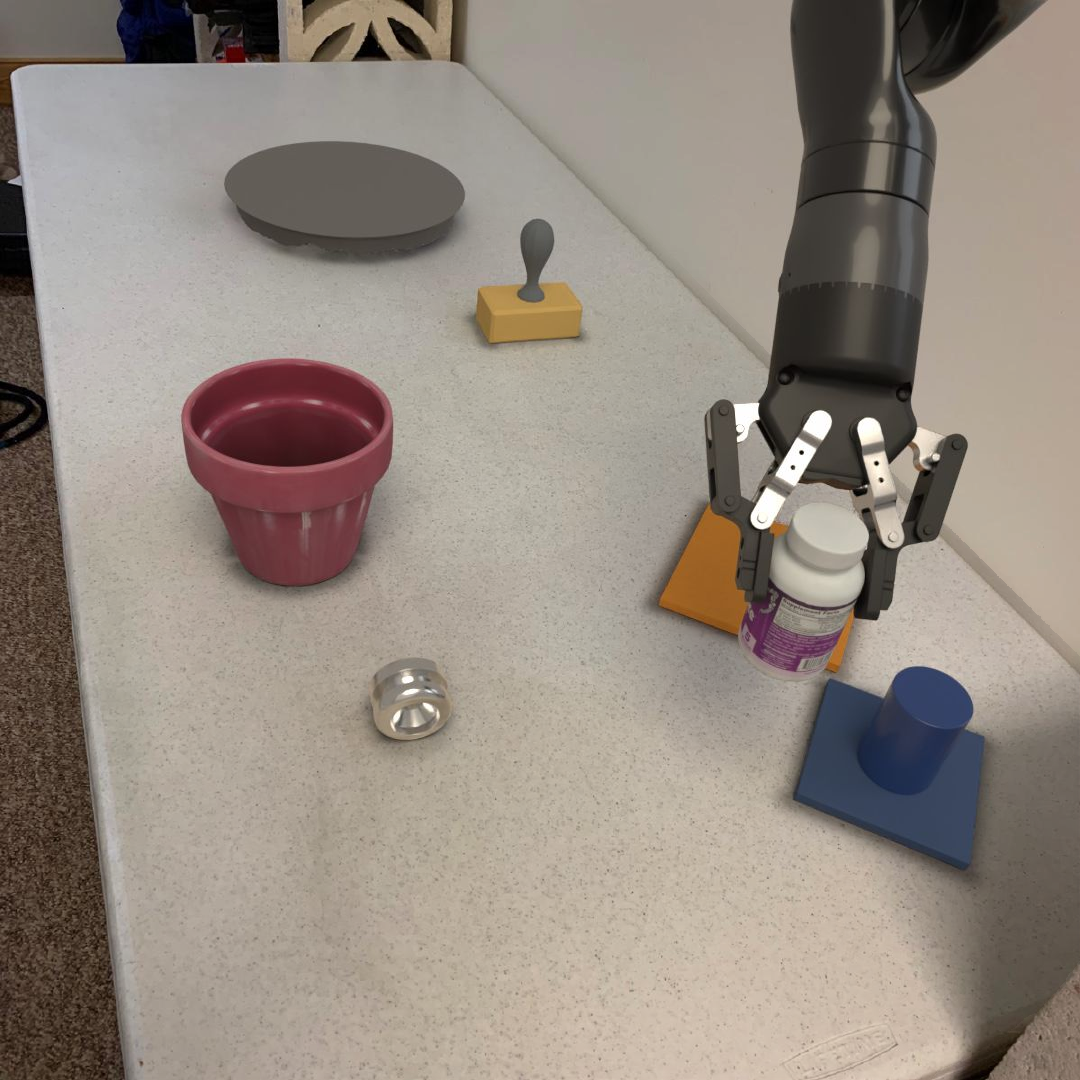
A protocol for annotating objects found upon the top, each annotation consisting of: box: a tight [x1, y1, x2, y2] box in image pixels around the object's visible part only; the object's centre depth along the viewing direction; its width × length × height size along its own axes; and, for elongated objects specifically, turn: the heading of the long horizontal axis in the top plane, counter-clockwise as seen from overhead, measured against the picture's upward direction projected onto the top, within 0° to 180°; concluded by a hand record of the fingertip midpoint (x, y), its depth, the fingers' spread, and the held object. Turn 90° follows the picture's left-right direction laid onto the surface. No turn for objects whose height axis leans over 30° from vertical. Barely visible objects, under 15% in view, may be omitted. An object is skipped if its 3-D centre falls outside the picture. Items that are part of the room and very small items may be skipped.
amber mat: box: [658, 501, 855, 673], centre depth 79 cm, size 14×14×1 cm
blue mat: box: [793, 677, 985, 871], centre depth 66 cm, size 11×11×1 cm
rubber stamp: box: [475, 218, 584, 344], centre depth 102 cm, size 10×6×12 cm, turn 108°
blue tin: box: [858, 665, 974, 795], centre depth 64 cm, size 5×5×7 cm
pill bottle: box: [737, 501, 869, 683], centre depth 54 cm, size 5×5×10 cm
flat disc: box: [223, 140, 466, 256], centre depth 119 cm, size 28×28×4 cm
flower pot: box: [180, 357, 394, 587], centre depth 73 cm, size 14×14×13 cm
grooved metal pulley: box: [368, 657, 453, 741], centre depth 64 cm, size 5×3×5 cm, turn 105°
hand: (810, 609), depth 53 cm, fingers closed on pill bottle, 5 cm apart
